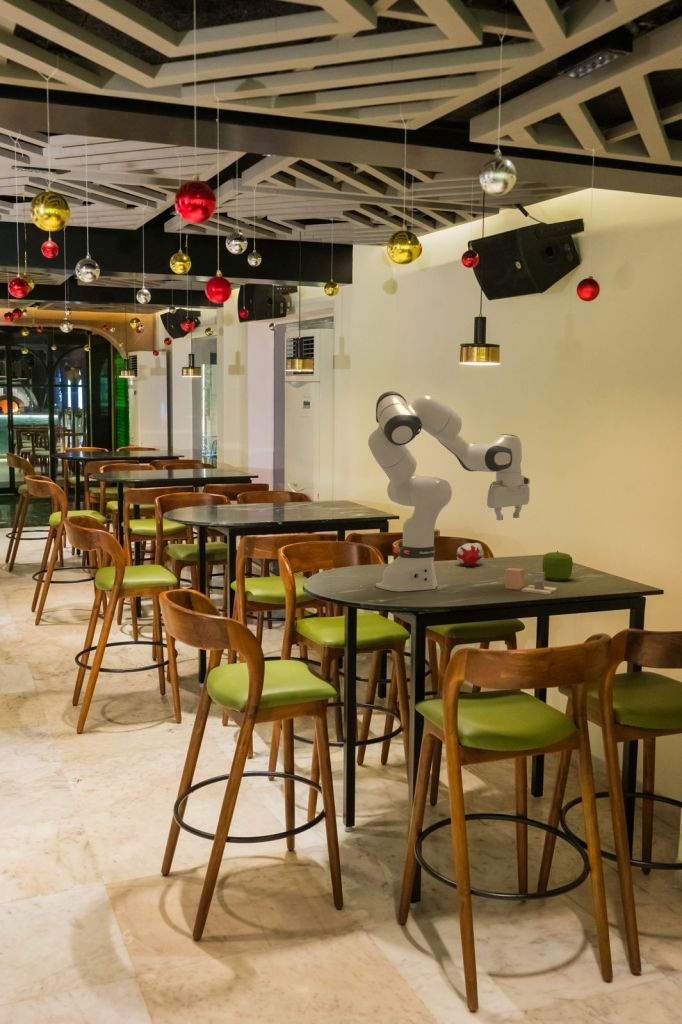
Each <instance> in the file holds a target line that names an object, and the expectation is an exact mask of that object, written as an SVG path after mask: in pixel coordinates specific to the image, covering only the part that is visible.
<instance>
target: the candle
mask: <svg viewBox="0 0 682 1024" xmlns="http://www.w3.org/2000/svg"><path fill="white" fill-rule="evenodd" d="M484 555H485V553H484V550H483V546H482V544H481V543H480V542H473V543H471V542H468V543H464V544H463V545H461V546H459V547H458V548H457V550H456V554H455V556H456V559H457V561H458V562H459V564H460V565H461V566H470V567H474V566H476V565H477V566H480V565H481V564H482V562H483V560H484V558H485V556H484Z"/></svg>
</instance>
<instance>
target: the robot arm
mask: <svg viewBox="0 0 682 1024" xmlns="http://www.w3.org/2000/svg"><path fill="white" fill-rule="evenodd" d="M375 420H376V423H378V427H377V429H375V430H374V431H373V432H371V434H370V435H369V437H368V439H367V440H368V441H367V443H368V444H367V445H368V447H369V450H370V451H371V454H372V456H373V458H374V460H375V461H376V462H377V464H378V465H379V467H381V469H382V470H383V472H384V473H385V474H386V476H387V477H388V479H389V482H388V484H387V490H386V492H387V496H388V498H389V500H390V501H391V502H393V503H395V504H398V505H401V506H405V507H406V506H407V507H414V509H413V513H412V515H411V516H410V518H408V519H406V520H405V521H404V523H403V525H402V545H401V546H400V547H397V546H394V547H393V553H396V554H397V555H398V556H397V557H396V558H395V559H394V560H393V561H392V562H391V563H389V565H387V566H386V567H385V568H384V570H383V573H382V581H380V582H376V583H375V586H376V588H379V589H381V590H386V591H389V592H390V591H391V592H411V591H424V590H425V591H426V590H436V589H437V587H438V586H439V584H438V581H437V577H436V568H435V556H436V546H435V543H434V542H435V527H436V523H437V519H438V516H439V514H440V512H441V511H442V510H443V508H445V507H446V506H448V504H449V503H450V501H451V499H452V496H453V495H452V494H453V493H452V492H453V491H452V486H451V484H450V483H449V481H448V480H446V479H443V478H440V477H437V476H428V475H425V476H424V475H420V474H417V473H416V470H417V465H418V464H417V460H416V458H415V457H414V455H413V454H412V452H411V451H410V450H409V449H408V447H407V446H406V445H407V444H409V443H411V442H412V441H413V440H414V439H415V438H416V436H418V435H420V433H421V430H424V431H425V432H427V433H428V434H429V435H430V436H431V437H433V438H434V439H436V440H437V441H438V442H439V443H440V444H441V445H442V446H444V448H446V450H448V451H449V452H450V453H452V454H453V455H454V456H455V458H456V459H457V461H458V463H460V465H461V467H462V468H463V469H464V470H466V471H467V472H486V473H487V472H489V473H495V481H492V482H491V483H490V485H489V489H488V491H487V497H486V502H487V503H486V505H487V507H488V508H490V509H493V510H494V513H495V515H496V520H497V521H503V520H504V514H503V513H502V511H503V510H502V508H509V507H514V508H515V509H514V512H513V513H512V518H513V519H518V518H520V513H521V510H522V507H523V506H525V505H526V506H527V505H528V504H529V502H530V492H531V491H530V486H529V485H530V483H531V480H530V478H529V477H527V476H524V474H523V475H522V468H521V467H522V466H521V462H522V458H523V454H522V453H523V451H522V442H521V438H520V437H518V436H517V435H514V434H507V433H501V434H499V435H498V437H497V438H496V439H495V440H493V441H491V442H489V443H475V442H474V443H473V442H468V441H467V440H466V439H464V438H463V437H462V436H461V435H460V433H461V429H462V424H463V423H462V418H461V417H460V415H459V414H458V413H457V412H456V411H455V410H454V409H453V408H451V407H450V406H448V405H447V404H446V403H444V402H443V401H441V400H439V399H438V398H436V397H433V396H431V395H429V394H421V395H419V396H418V397H416V398H415V399H414V401H413V402H411V403H408V402H407V400H406V399H405V397H404V396H403V395H402V394H401V393H399V392H397V391H386V392H383V393H382V394H381V395H380V396H378V399H377V401H376V406H375Z"/></svg>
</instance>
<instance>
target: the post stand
mask: <svg viewBox="0 0 682 1024" xmlns="http://www.w3.org/2000/svg"><path fill="white" fill-rule="evenodd" d="M557 590H558V587H555V586H554V587H553V586H545V572H543V571H535V573H534V585H532V584H528V585H527V586H524V588H522V589H520V592H524V593H534V594H543V595H545V594H546V595H550V594H552V593H554V592H555V591H557Z"/></svg>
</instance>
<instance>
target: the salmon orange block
mask: <svg viewBox="0 0 682 1024" xmlns="http://www.w3.org/2000/svg"><path fill="white" fill-rule="evenodd" d="M504 573H505V574H504V575H505V576H504V589H507V590H508V589H509V590H519V591H521V589H523V588H525V568H517V567H509V568H506V569H505V572H504Z"/></svg>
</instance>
